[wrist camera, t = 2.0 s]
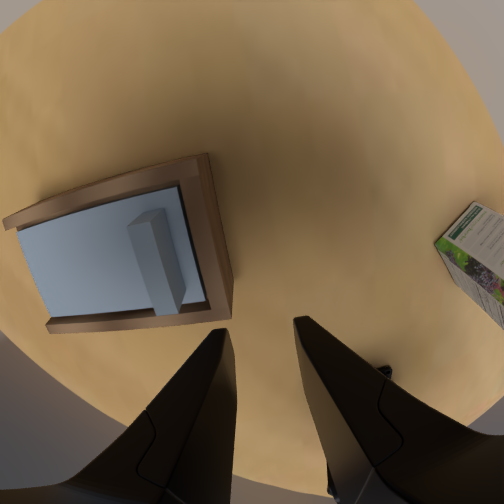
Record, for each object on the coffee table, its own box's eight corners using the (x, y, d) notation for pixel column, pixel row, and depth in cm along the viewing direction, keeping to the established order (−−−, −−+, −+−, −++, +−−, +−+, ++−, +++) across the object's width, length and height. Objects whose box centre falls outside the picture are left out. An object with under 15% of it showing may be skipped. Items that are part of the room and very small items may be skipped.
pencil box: (207, 153, 17) (195, 158, 13) (233, 281, 21) (231, 318, 17) (38, 201, 18) (2, 219, 14) (74, 302, 21) (49, 333, 17)
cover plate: (180, 184, 15) (164, 197, 12) (207, 293, 17) (200, 326, 14) (22, 228, 15) (-6, 245, 12) (56, 311, 18) (35, 336, 15)
